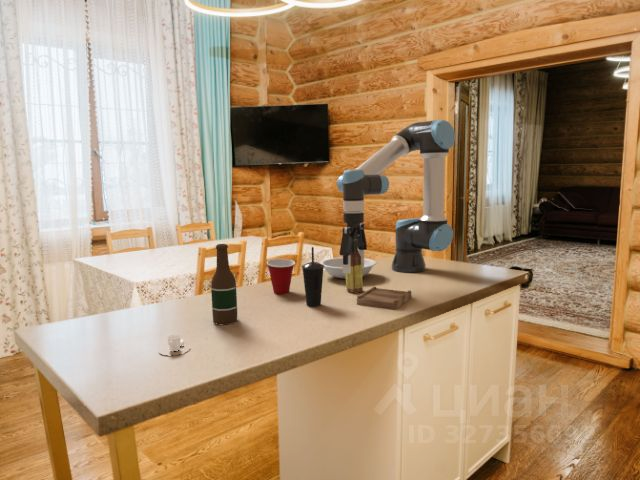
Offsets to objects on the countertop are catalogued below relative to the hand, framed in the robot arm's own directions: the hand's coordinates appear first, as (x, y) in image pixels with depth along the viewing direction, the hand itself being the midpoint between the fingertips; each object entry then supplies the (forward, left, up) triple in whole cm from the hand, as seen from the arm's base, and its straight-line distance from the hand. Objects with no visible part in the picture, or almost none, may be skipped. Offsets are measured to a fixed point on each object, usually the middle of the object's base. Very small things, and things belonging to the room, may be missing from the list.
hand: (353, 269), depth 177 cm
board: (+7, +15, -8) cm, 19 cm away
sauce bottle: (0, 0, -9) cm, 9 cm away
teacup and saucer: (+71, -16, -9) cm, 73 cm away
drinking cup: (+22, -5, -9) cm, 24 cm away
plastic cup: (+13, -24, -9) cm, 29 cm away
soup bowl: (-20, -12, -9) cm, 25 cm away
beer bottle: (+49, -21, -9) cm, 54 cm away
